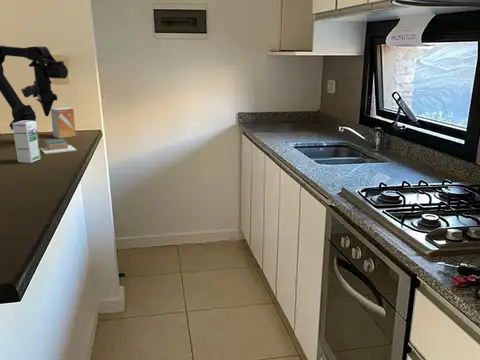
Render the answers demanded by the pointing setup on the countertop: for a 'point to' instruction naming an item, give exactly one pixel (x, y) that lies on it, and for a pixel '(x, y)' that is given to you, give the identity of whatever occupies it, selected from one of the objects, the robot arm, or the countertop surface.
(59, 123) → the small box
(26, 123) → the syrup box
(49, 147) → the beige and teal box
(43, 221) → the countertop surface
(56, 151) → the flat white panel
